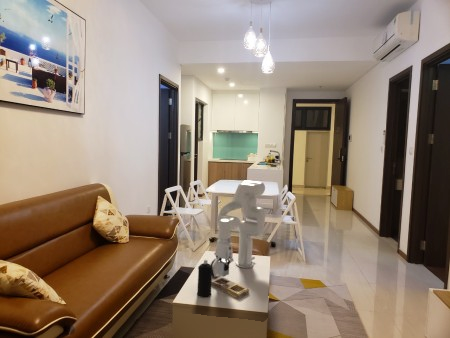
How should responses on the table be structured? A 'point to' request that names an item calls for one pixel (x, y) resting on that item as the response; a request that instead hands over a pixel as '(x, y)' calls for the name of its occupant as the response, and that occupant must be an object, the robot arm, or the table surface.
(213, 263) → the gray curved box
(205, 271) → the aerosol can
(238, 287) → the wooden slotted tray
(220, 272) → the grey rectangular block
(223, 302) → the table surface
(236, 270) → the table surface
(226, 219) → the robot arm
